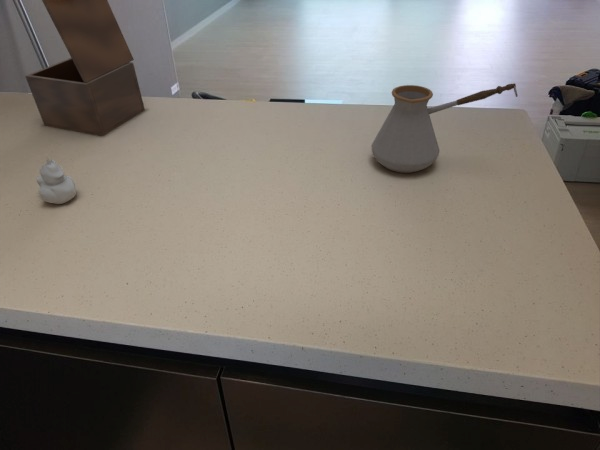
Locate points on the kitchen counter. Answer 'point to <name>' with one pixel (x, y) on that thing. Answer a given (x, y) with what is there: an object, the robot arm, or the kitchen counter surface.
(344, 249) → the kitchen counter surface
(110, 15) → the lid
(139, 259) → the kitchen counter surface
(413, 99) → the coffee pot
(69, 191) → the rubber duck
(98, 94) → the chest
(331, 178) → the kitchen counter surface
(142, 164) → the kitchen counter surface
